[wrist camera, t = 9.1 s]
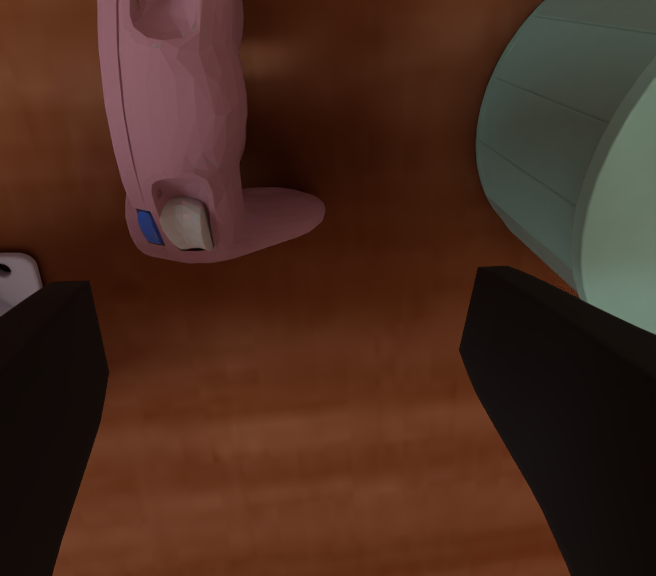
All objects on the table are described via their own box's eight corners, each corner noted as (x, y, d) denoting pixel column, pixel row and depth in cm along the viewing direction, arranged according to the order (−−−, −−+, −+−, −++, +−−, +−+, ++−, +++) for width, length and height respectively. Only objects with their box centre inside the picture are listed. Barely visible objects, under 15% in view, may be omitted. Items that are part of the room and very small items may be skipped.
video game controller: (200, -123, 15) (-4, -197, 9) (356, -119, 14) (238, -200, 8) (218, 204, 20) (94, 292, 14) (332, 225, 19) (250, 329, 13)
